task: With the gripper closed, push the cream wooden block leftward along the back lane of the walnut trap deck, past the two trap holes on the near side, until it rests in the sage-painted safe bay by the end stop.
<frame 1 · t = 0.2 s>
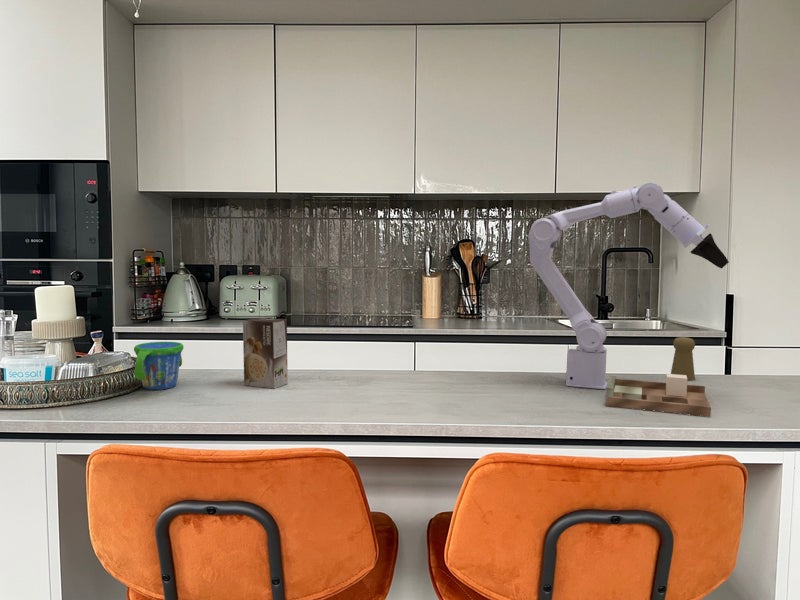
hand: (724, 264, 133), 31 cm above the worktop, tool tilted 45°, fingers open, 7 cm apart
trap deck: (656, 403, 129), on the worktop
coffee box: (265, 385, 144), on the worktop
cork: (682, 379, 157), on the worktop
snack cup: (159, 387, 140), on the worktop
cream block: (675, 393, 130), point 2 cm above the worktop, touching trap deck
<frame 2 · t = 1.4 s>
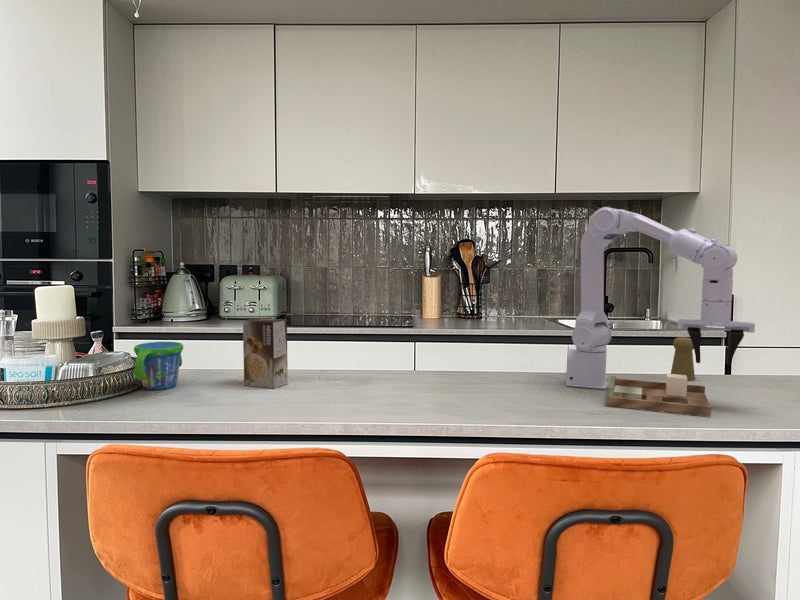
hand: (713, 363, 127), 9 cm above the worktop, tool pointing down, fingers open, 5 cm apart
nothing on the worktop moved.
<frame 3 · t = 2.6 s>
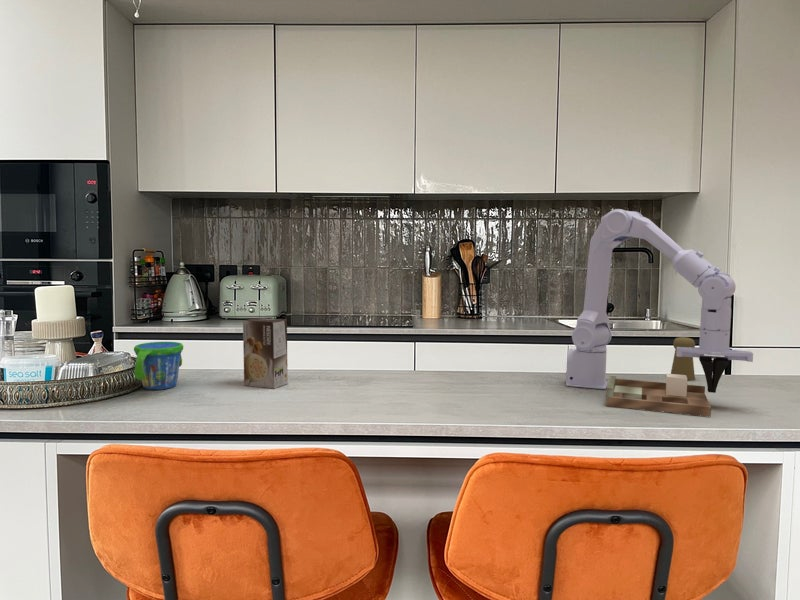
hand: (711, 391, 128), 3 cm above the worktop, tool pointing down, fingers closed
nothing on the worktop moved.
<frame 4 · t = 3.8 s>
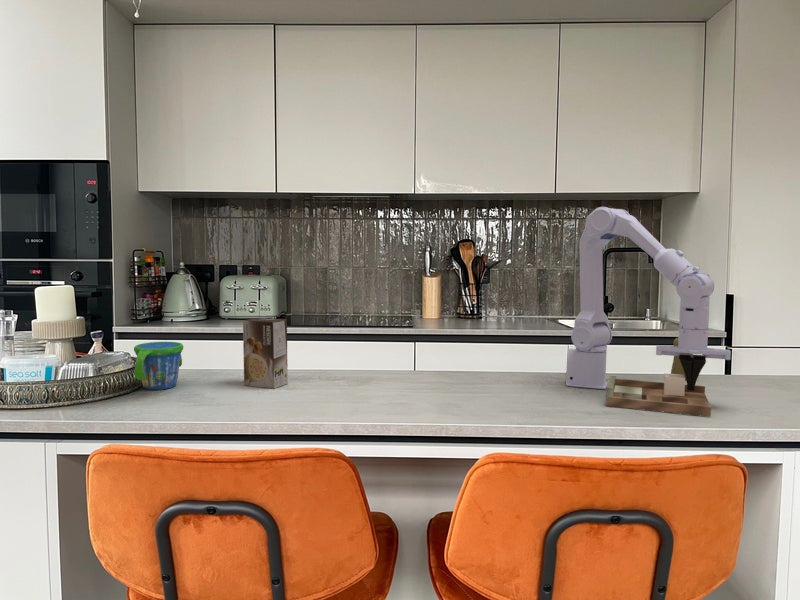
hand: (690, 389, 129), 3 cm above the worktop, tool pointing down, fingers closed
cream block: (673, 393, 131), point 2 cm above the worktop, touching gripper
everything else where it was.
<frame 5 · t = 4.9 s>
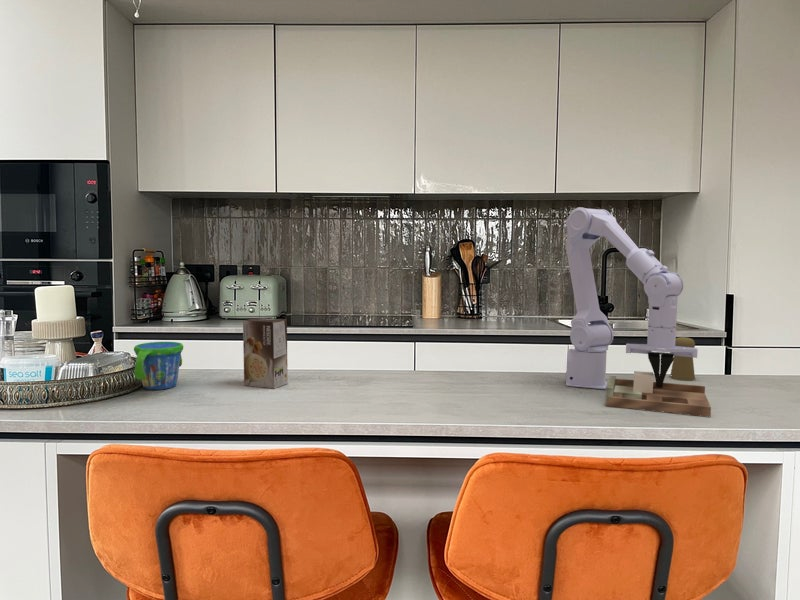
hand: (659, 386, 132), 3 cm above the worktop, tool pointing down, fingers closed
cream block: (642, 390, 133), point 2 cm above the worktop, touching gripper, trap deck
everything else where it was.
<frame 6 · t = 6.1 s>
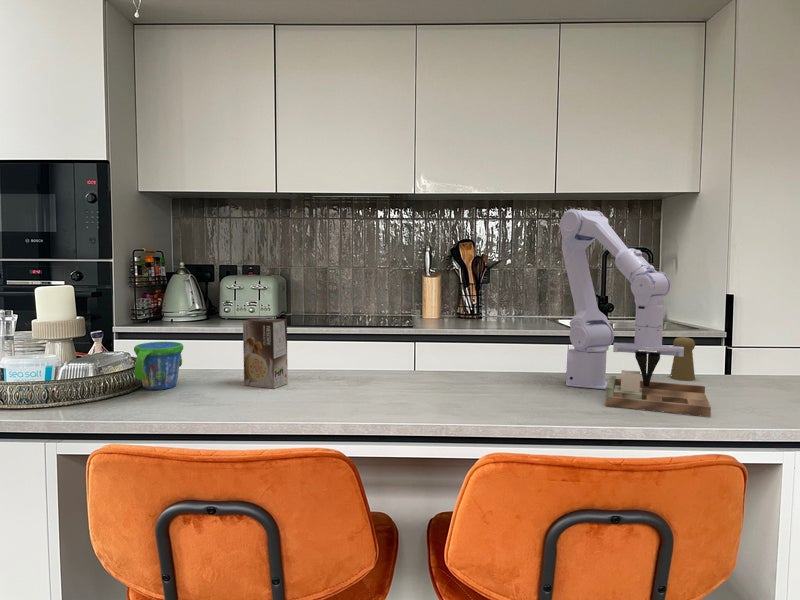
hand: (646, 385, 133), 3 cm above the worktop, tool pointing down, fingers closed
cream block: (630, 389, 134), point 2 cm above the worktop, touching gripper, trap deck
everything else where it was.
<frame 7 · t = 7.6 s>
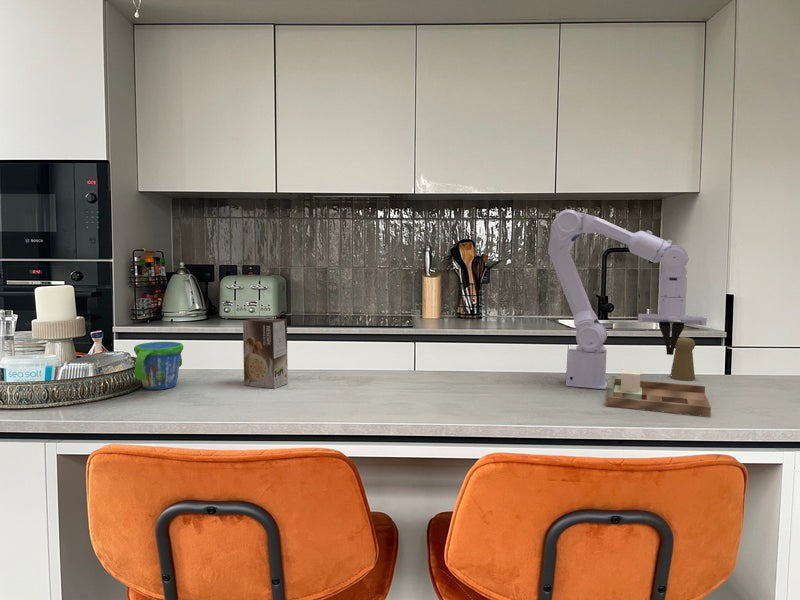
hand: (669, 354, 139), 9 cm above the worktop, tool pointing down, fingers closed
cream block: (630, 389, 134), point 2 cm above the worktop, touching trap deck
everything else where it was.
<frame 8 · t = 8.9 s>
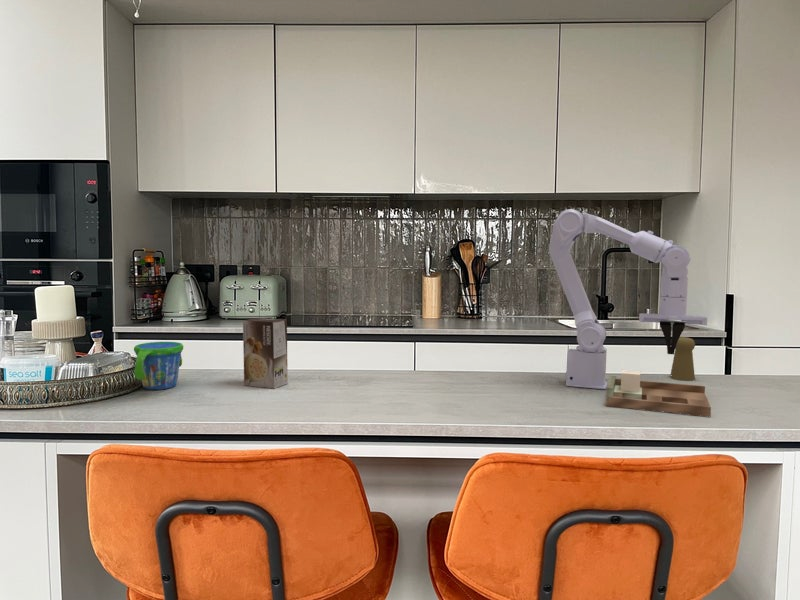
hand: (670, 353, 139), 9 cm above the worktop, tool pointing down, fingers closed
nothing on the worktop moved.
at the end: cream block 0.1 cm from the target spot on the trap deck, point 2.0 cm above the trap deck's base; cream block tilted 0° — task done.
